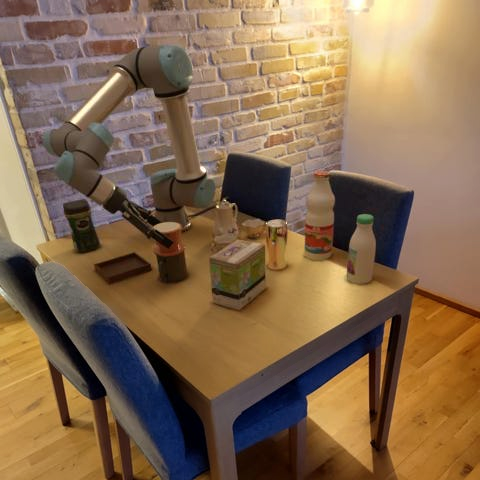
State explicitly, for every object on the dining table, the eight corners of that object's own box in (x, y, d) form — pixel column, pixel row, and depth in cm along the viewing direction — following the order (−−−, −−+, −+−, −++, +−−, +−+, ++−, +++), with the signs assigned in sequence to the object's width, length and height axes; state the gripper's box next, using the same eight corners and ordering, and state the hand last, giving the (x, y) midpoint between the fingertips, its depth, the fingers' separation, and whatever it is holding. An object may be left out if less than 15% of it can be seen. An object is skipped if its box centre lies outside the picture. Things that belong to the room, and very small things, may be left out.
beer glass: (290, 263, 147) (290, 220, 139) (283, 271, 142) (283, 228, 133) (271, 260, 149) (270, 218, 141) (263, 268, 144) (262, 225, 136)
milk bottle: (372, 274, 137) (380, 212, 126) (370, 285, 131) (378, 222, 120) (347, 271, 139) (353, 211, 128) (344, 283, 133) (350, 220, 122)
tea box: (241, 311, 123) (237, 263, 115) (212, 303, 127) (207, 257, 119) (267, 288, 133) (265, 243, 125) (239, 281, 138) (236, 237, 130)
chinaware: (230, 264, 152) (231, 219, 142) (192, 251, 159) (191, 207, 149) (269, 235, 172) (272, 194, 162) (233, 225, 179) (234, 185, 169)
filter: (176, 245, 145) (172, 218, 140) (191, 254, 138) (188, 227, 133) (149, 253, 140) (144, 226, 135) (163, 263, 133) (158, 235, 128)
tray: (135, 257, 158) (134, 251, 156) (152, 269, 148) (150, 263, 147) (95, 270, 151) (93, 264, 149) (109, 284, 141) (108, 277, 140)
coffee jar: (97, 242, 173) (85, 195, 162) (102, 248, 167) (91, 200, 157) (72, 248, 169) (59, 201, 159) (77, 255, 163) (63, 206, 153)
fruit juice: (335, 251, 152) (340, 169, 137) (327, 262, 145) (332, 177, 130) (309, 247, 156) (312, 167, 141) (300, 258, 149) (302, 175, 134)
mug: (168, 269, 148) (163, 243, 143) (191, 271, 146) (188, 245, 140) (149, 286, 139) (144, 259, 133) (175, 289, 136) (170, 261, 131)
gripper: (100, 194, 136) (156, 232, 147) (101, 220, 116) (165, 262, 127) (114, 175, 134) (169, 215, 145) (117, 197, 114) (181, 242, 125)
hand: (168, 237), depth 136 cm, fingers open, 13 cm apart
